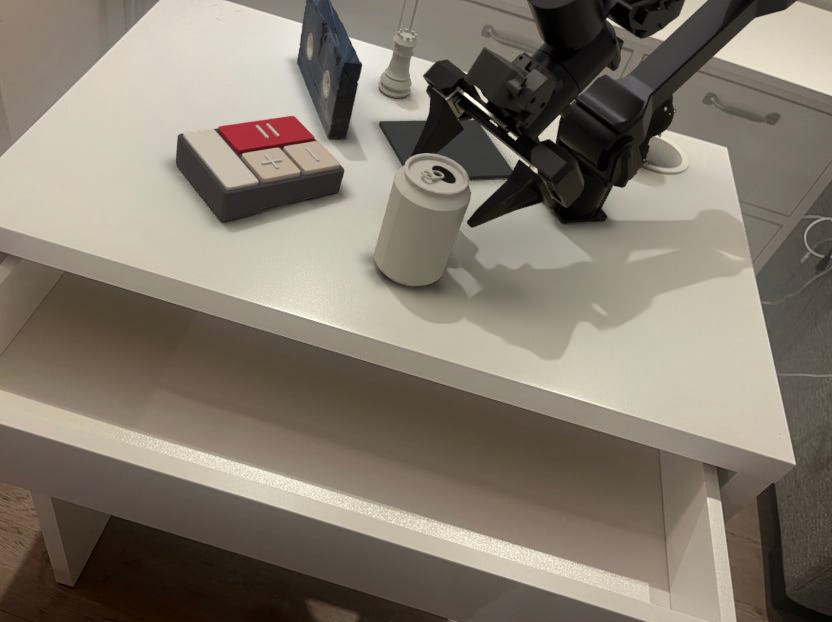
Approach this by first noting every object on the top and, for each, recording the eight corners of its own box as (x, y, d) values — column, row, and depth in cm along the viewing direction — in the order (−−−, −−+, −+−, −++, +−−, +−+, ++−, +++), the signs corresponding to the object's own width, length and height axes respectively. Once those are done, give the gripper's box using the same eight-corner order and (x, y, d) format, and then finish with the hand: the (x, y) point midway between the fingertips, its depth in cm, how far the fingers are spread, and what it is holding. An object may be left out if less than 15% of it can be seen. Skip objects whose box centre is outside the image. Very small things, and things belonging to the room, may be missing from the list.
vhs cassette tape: (347, 140, 93) (363, 63, 86) (323, 139, 92) (338, 62, 85) (317, 62, 104) (329, -11, 97) (296, 61, 103) (306, -13, 96)
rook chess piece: (379, 78, 105) (392, 21, 99) (410, 86, 105) (425, 29, 99) (375, 94, 101) (388, 36, 96) (408, 102, 102) (423, 45, 96)
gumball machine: (658, 172, 102) (697, 105, 94) (622, 175, 100) (659, 106, 92) (630, 143, 106) (665, 76, 98) (595, 145, 103) (629, 77, 96)
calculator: (348, 164, 83) (226, 187, 75) (339, 196, 86) (221, 222, 78) (295, 110, 88) (176, 127, 80) (289, 142, 91) (173, 162, 83)
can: (456, 280, 79) (493, 185, 71) (400, 300, 76) (431, 203, 67) (413, 236, 83) (443, 141, 74) (358, 253, 79) (382, 155, 71)
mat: (475, 123, 101) (476, 119, 101) (514, 177, 94) (516, 174, 94) (378, 124, 97) (379, 121, 96) (412, 182, 90) (413, 178, 89)
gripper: (466, -29, 68) (345, 103, 71) (620, 77, 60) (477, 222, 62) (498, 44, 78) (391, 157, 81) (635, 143, 70) (510, 267, 72)
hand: (437, 197), depth 74 cm, fingers open, 9 cm apart
